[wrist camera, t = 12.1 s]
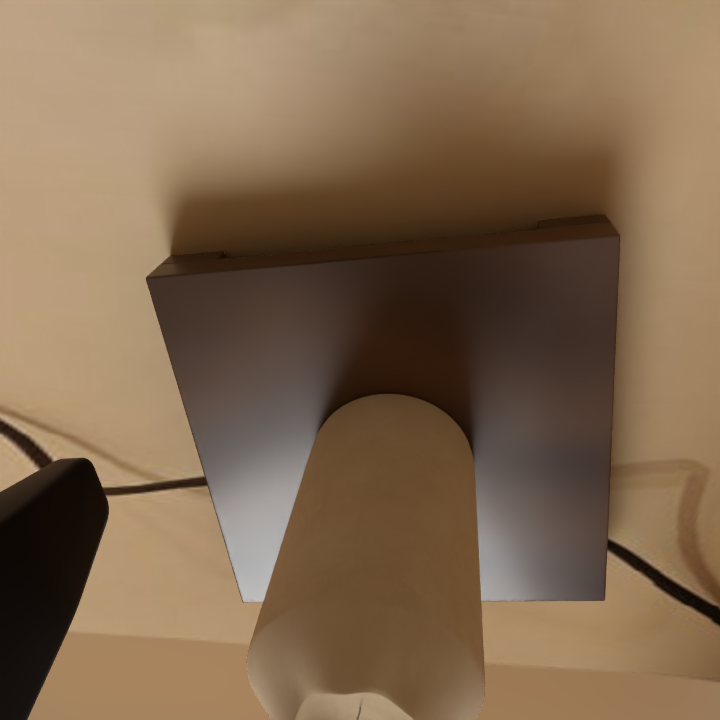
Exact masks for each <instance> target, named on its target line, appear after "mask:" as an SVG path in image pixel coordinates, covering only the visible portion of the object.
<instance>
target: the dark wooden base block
mask: <svg viewBox="0 0 720 720" xmlns="http://www.w3.org/2000/svg"><path fill="white" fill-rule="evenodd" d="M619 255H620V234H619V233H618V231H617V230H616V228H615V227H614V226H613V224H612V223H611V221H610V220H609V218H608V217H607V215H605V214H604V215H593V216H583V217H572V218H562V219H552V220H541V221H538V229H534V230H523V231H513V232H502V233H492V234H481V235H470V236H460V237H449V238H438V239H428V240H417V241H406V242H396V243H385V244H375V245H364V246H353V247H343V248H332V249H321V250H311V251H300V252H290V253H279V254H268V255H258V256H247V257H236V258H226V256H225V252H223V251H221V252H211V253H200V254H190V255H179V256H170V257H168V258H167V259H166V260H165V261H164V262H163V263H162V264H161V265H159V266H158V267H157V268H156V269H155V270H154V271H153V272H151V273H150V274H149V275H148V276H147V277H146V281H147V284H148V288H149V291H150V294H151V298H152V301H153V304H154V308H155V311H156V314H157V318H158V321H159V324H160V328H161V331H162V334H163V338H164V341H165V344H166V348H167V351H168V355H169V358H170V361H171V365H172V368H173V371H174V375H175V378H176V381H177V385H178V388H179V391H180V395H181V398H182V401H183V405H184V408H185V411H186V415H187V418H188V421H189V425H190V428H191V431H192V435H193V438H194V441H195V445H196V448H197V451H198V455H199V458H200V461H201V465H202V468H203V471H204V475H205V478H206V481H207V485H208V488H209V491H210V495H211V498H212V501H213V505H214V508H215V511H216V515H217V518H218V521H219V525H220V528H221V532H222V535H223V538H224V542H225V545H226V548H227V552H228V555H229V558H230V562H231V565H232V568H233V572H234V575H235V578H236V582H237V585H238V588H239V592H240V595H241V598H242V601H243V602H263V601H264V598H265V595H266V592H267V588H268V585H269V582H270V579H271V576H272V572H273V569H274V566H275V563H276V560H277V556H278V553H279V550H280V547H281V544H282V541H283V537H284V534H285V531H286V528H287V525H288V521H289V518H290V515H291V512H292V509H293V505H294V502H295V499H296V496H297V493H298V489H299V486H300V483H301V480H302V477H303V473H304V470H305V467H306V464H307V461H308V458H309V455H310V452H311V449H312V446H313V444H314V441H315V438H316V436H317V434H318V432H319V430H320V429H321V427H322V426H323V424H324V423H325V422H326V420H327V419H328V418H329V417H330V416H331V415H332V414H333V413H334V412H335V411H337V410H338V409H339V408H341V407H342V406H344V405H346V404H348V403H349V402H351V401H354V400H356V399H359V398H362V397H366V396H370V395H378V394H399V395H406V396H410V397H415V398H418V399H421V400H424V401H426V402H428V403H430V404H432V405H434V406H436V407H438V408H439V409H441V410H442V411H444V412H445V413H446V414H448V415H449V416H450V417H451V418H452V419H453V420H454V421H455V422H456V423H457V424H458V425H459V427H460V428H461V430H462V431H463V432H464V434H465V436H466V438H467V440H468V442H469V445H470V448H471V451H472V454H473V460H474V468H475V480H476V502H477V523H478V544H479V565H480V586H481V601H604V600H605V589H606V565H607V541H608V517H609V494H610V470H611V446H612V422H613V398H614V374H615V350H616V326H617V302H618V279H619Z"/></svg>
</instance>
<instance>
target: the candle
mask: <svg viewBox="0 0 720 720" xmlns="http://www.w3.org/2000/svg"><path fill="white" fill-rule="evenodd" d="M246 662H247V674H248V678H249V682H250V684H251V686H252V689H253V691H254V693H255V694H256V696H257V698H258V700H259V701H260V703H261V704H262V706H263V707H264V709H265V710H266V712H267V713H268V715H269V716H270V718H271V720H475V719H476V717H477V716H478V714H479V712H480V710H481V708H482V705H483V701H484V696H485V673H484V650H483V629H482V608H481V586H480V565H479V544H478V523H477V502H476V480H475V468H474V460H473V454H472V451H471V448H470V445H469V442H468V440H467V438H466V436H465V434H464V432H463V431H462V430H461V428H460V427H459V425H458V424H457V423H456V422H455V421H454V420H453V419H452V418H451V417H450V416H449V415H448V414H446V413H445V412H444V411H442V410H441V409H439V408H438V407H436V406H434V405H432V404H430V403H428V402H426V401H424V400H421V399H418V398H415V397H410V396H406V395H399V394H378V395H370V396H366V397H362V398H359V399H356V400H354V401H351V402H349V403H348V404H346V405H344V406H342V407H341V408H339V409H338V410H337V411H335V412H334V413H333V414H332V415H331V416H330V417H329V418H328V419H327V420H326V422H325V423H324V424H323V426H322V427H321V429H320V430H319V432H318V434H317V436H316V438H315V441H314V444H313V446H312V449H311V452H310V455H309V458H308V461H307V464H306V467H305V470H304V473H303V477H302V480H301V483H300V486H299V489H298V493H297V496H296V499H295V502H294V505H293V509H292V512H291V515H290V518H289V521H288V525H287V528H286V531H285V534H284V537H283V541H282V544H281V547H280V550H279V553H278V556H277V560H276V563H275V566H274V569H273V572H272V576H271V579H270V582H269V585H268V588H267V592H266V595H265V598H264V601H263V604H262V608H261V611H260V614H259V617H258V620H257V624H256V627H255V630H254V633H253V636H252V640H251V643H250V646H249V650H248V655H247V661H246Z"/></svg>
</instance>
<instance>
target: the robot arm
mask: <svg viewBox="0 0 720 720" xmlns="http://www.w3.org/2000/svg"><path fill="white" fill-rule="evenodd" d="M108 515H109V506H108V501H107V498H106V495H105V493H104V490H103V488H102V486H101V483H100V481H99V478H98V476H97V473H96V471H95V468H94V466H93V464H92V463H91V462H90V461H89V460H88V459H86V458H68V459H60V460H57V461H55V462H53V463H51V464H49V465H48V466H46V467H44V468H42V469H41V470H39V471H37V472H35V473H33V474H32V475H30V476H28V477H26V478H25V479H23V480H21V481H19V482H17V483H16V484H14V485H12V486H10V487H9V488H7V489H5V490H3V491H2V492H0V720H27V719H28V717H29V715H30V712H31V710H32V708H33V706H34V704H35V701H36V699H37V697H38V695H39V693H40V690H41V688H42V686H43V684H44V682H45V680H46V677H47V675H48V673H49V671H50V669H51V666H52V664H53V662H54V660H55V658H56V655H57V653H58V651H59V649H60V647H61V645H62V642H63V640H64V638H65V636H66V634H67V631H68V629H69V627H70V624H71V622H72V620H73V617H74V615H75V613H76V610H77V607H78V605H79V602H80V599H81V597H82V594H83V591H84V588H85V585H86V582H87V579H88V576H89V573H90V570H91V567H92V564H93V561H94V558H95V555H96V552H97V549H98V547H99V544H100V541H101V538H102V535H103V532H104V529H105V526H106V523H107V520H108Z"/></svg>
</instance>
